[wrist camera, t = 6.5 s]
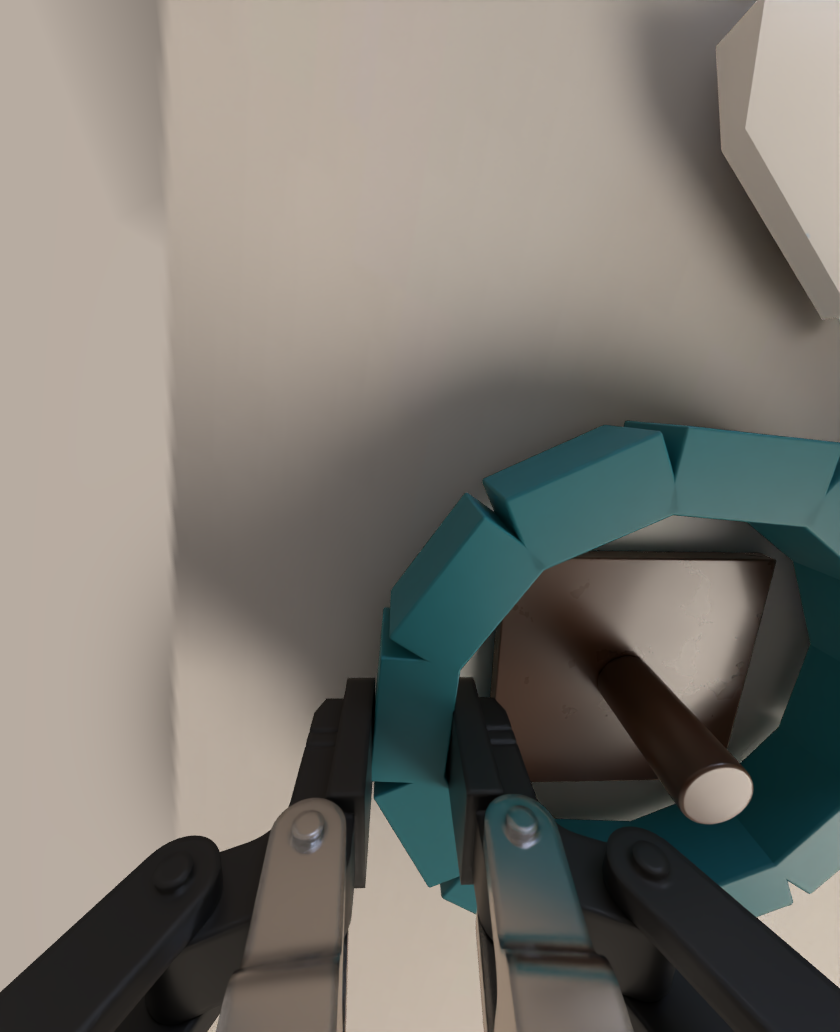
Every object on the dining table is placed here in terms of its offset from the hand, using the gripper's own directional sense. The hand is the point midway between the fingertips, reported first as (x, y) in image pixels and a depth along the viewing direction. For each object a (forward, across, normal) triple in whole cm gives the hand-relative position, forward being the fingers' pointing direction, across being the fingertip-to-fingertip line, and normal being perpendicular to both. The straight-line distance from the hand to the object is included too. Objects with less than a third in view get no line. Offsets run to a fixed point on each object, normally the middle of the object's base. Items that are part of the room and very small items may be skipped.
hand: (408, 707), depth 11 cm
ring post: (+2, -6, 0) cm, 7 cm away
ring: (+1, -6, 0) cm, 6 cm away
